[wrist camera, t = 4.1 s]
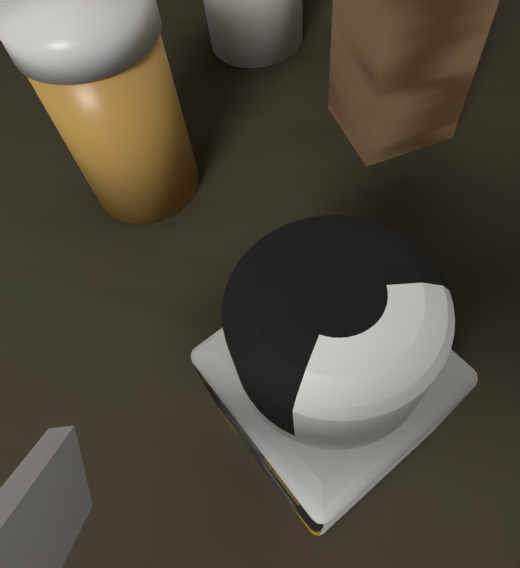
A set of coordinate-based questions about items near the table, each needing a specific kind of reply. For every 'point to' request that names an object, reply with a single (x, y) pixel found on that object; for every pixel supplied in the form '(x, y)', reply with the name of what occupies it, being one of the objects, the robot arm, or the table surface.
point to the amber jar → (108, 98)
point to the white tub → (254, 30)
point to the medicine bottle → (333, 358)
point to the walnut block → (403, 70)
